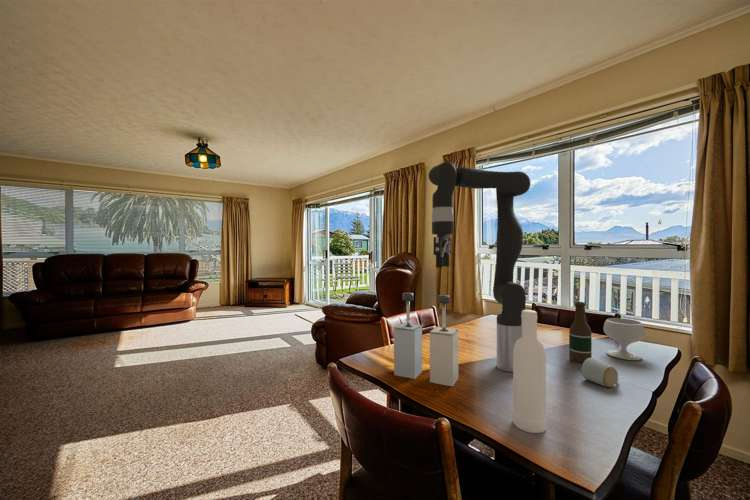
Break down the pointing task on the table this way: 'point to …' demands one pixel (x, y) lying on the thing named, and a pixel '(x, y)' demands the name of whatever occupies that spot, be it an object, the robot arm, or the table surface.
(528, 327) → the bottle
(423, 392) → the table surface
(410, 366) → the block
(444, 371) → the block
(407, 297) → the grey plunger
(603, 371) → the cream cylinder
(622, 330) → the chalice
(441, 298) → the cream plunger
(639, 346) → the table surface
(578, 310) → the beer bottle
